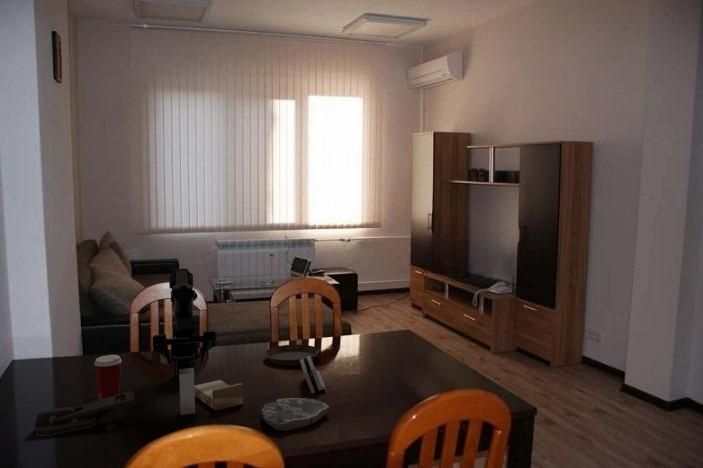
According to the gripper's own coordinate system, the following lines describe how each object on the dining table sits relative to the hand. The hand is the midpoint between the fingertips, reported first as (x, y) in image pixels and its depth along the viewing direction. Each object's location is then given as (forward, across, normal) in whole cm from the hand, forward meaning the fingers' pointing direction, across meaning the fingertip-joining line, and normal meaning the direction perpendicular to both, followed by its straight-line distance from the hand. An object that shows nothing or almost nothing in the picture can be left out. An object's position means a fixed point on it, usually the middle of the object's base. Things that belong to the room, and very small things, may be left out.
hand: (186, 365), depth 172 cm
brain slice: (+22, +28, -5) cm, 36 cm away
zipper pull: (+13, -27, +5) cm, 30 cm away
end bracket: (+13, 0, +4) cm, 13 cm away
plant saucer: (-16, +39, +34) cm, 55 cm away
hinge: (+4, +40, +13) cm, 42 cm away
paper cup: (+3, -22, +15) cm, 27 cm away
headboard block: (+7, +9, +10) cm, 15 cm away
